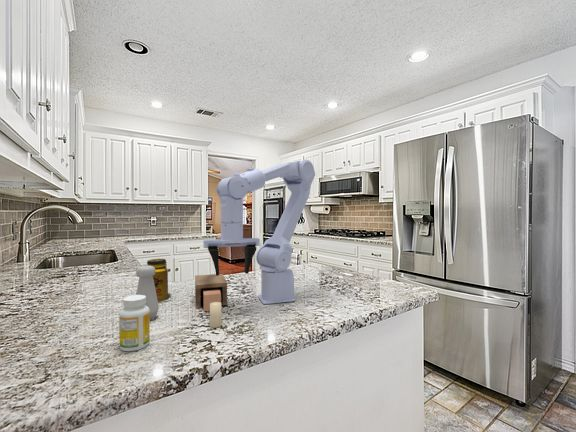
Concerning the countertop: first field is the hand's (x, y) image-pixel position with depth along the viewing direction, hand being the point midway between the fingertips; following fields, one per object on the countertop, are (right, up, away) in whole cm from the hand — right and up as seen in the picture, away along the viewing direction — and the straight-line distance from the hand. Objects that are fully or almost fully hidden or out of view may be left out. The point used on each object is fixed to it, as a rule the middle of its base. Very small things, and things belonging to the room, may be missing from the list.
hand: (232, 273), depth 78 cm
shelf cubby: (-8, -10, +9) cm, 16 cm away
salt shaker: (-20, -10, -5) cm, 23 cm away
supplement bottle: (-16, -11, -20) cm, 27 cm away
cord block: (-4, -10, -4) cm, 11 cm away
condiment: (-25, -10, +11) cm, 29 cm away
